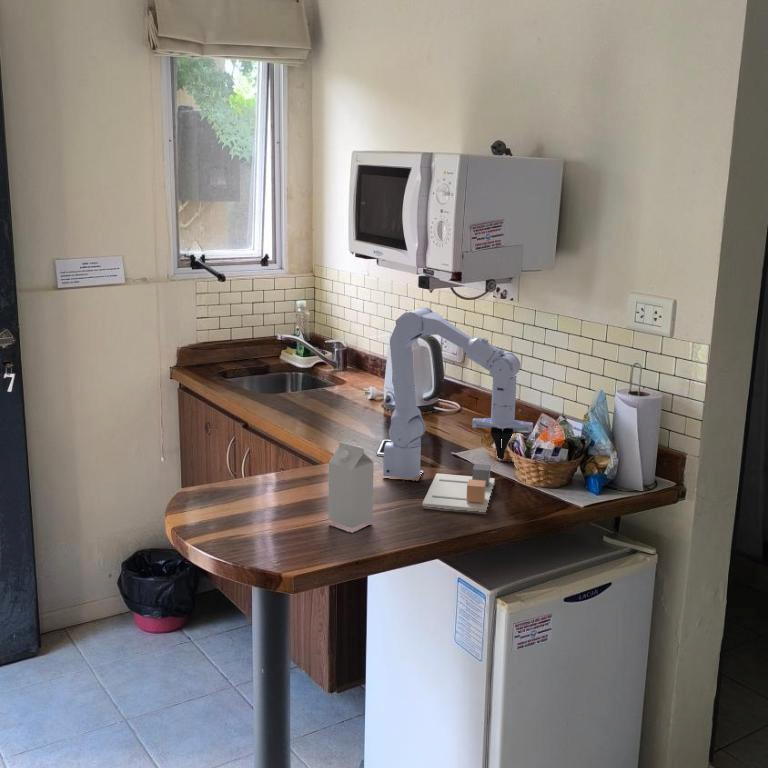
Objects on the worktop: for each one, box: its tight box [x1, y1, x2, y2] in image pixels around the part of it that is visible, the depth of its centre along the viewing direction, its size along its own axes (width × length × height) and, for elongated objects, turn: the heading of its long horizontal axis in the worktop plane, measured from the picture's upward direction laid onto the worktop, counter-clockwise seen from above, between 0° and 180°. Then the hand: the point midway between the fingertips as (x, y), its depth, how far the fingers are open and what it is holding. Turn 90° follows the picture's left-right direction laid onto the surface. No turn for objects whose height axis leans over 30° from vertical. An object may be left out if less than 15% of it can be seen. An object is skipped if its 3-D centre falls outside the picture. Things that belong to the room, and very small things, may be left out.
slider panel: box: [421, 473, 496, 512], centre depth 226 cm, size 15×22×2 cm
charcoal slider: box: [472, 463, 491, 486], centre depth 230 cm, size 4×4×4 cm
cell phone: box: [375, 438, 392, 455], centre depth 262 cm, size 8×15×1 cm, turn 173°
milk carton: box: [327, 441, 374, 528], centre depth 204 cm, size 7×7×19 cm
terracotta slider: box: [466, 479, 486, 503], centre depth 219 cm, size 4×4×4 cm
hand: (500, 457), depth 226 cm, fingers closed
